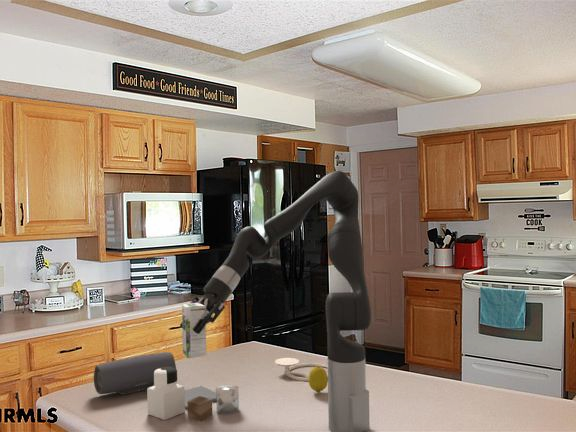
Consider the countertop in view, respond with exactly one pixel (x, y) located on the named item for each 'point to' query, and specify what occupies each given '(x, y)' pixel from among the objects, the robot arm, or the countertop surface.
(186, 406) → the plate
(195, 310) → the syrup box
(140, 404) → the countertop surface
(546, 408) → the countertop surface
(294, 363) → the hand towel holder
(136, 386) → the bluetooth speaker
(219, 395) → the brushed tin
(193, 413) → the walnut block
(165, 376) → the medicine bottle
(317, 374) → the lemon
